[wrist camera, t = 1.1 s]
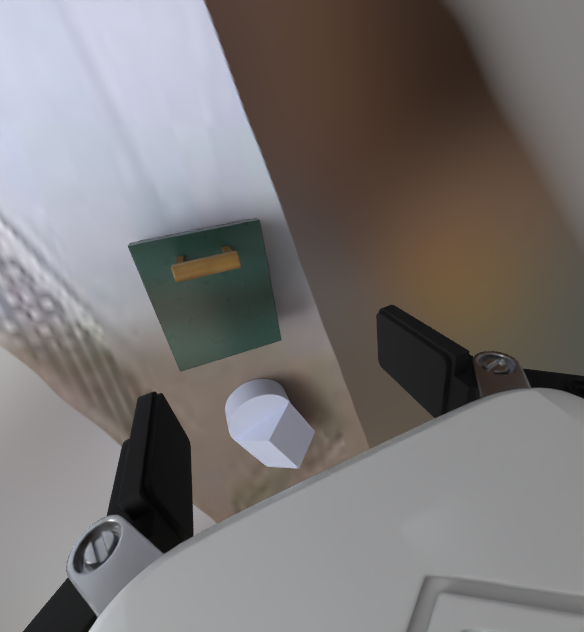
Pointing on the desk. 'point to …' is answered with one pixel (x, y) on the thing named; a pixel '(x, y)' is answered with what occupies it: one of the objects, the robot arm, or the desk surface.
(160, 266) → the panel with handle
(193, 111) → the desk surface
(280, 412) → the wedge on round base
